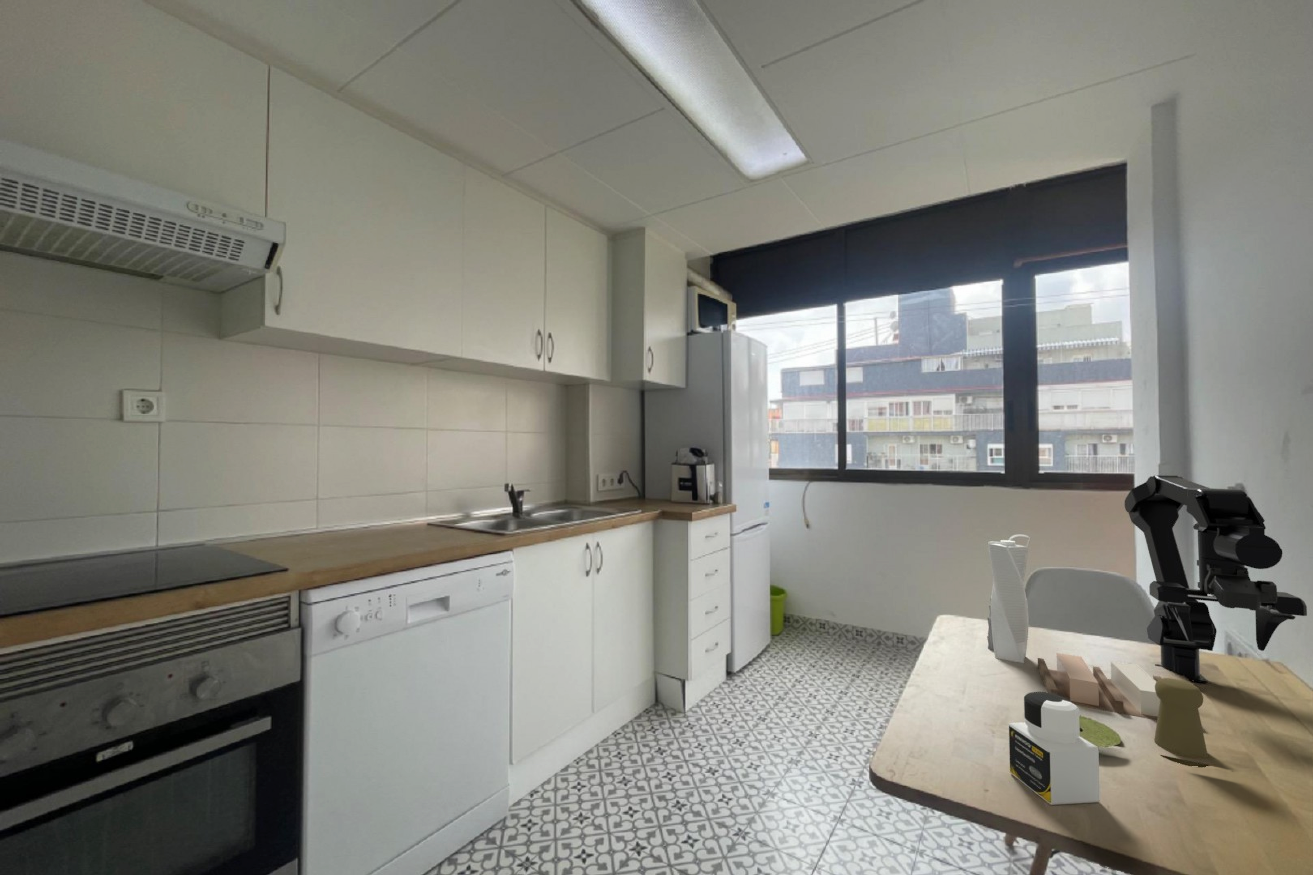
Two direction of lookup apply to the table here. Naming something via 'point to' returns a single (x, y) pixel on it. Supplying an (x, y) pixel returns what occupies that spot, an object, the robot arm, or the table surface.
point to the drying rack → (1108, 692)
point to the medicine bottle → (1054, 751)
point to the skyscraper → (1008, 600)
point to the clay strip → (1136, 687)
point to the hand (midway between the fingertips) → (1224, 645)
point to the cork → (1180, 721)
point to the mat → (1097, 733)
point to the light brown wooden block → (1077, 679)
